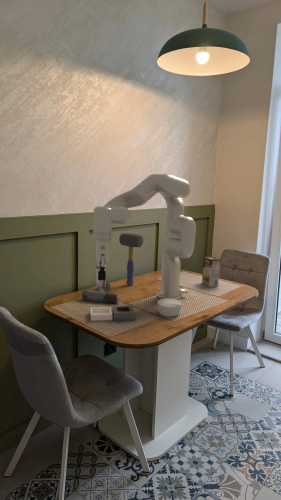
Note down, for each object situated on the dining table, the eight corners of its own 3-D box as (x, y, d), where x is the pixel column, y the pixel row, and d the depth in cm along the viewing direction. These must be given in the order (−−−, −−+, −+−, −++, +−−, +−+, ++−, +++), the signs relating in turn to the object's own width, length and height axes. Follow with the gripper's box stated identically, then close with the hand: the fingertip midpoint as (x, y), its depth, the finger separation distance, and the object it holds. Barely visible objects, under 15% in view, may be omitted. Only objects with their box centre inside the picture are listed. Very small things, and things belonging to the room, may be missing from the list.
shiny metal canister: (105, 284, 156) (106, 264, 154) (106, 287, 152) (106, 266, 150) (96, 284, 155) (96, 264, 153) (96, 287, 151) (96, 266, 149)
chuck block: (131, 312, 162) (131, 305, 161) (134, 320, 153) (134, 312, 153) (111, 313, 160) (111, 306, 160) (113, 320, 152) (113, 313, 151)
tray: (110, 312, 161) (110, 306, 161) (112, 320, 153) (112, 314, 152) (90, 312, 160) (90, 307, 159) (91, 320, 151) (91, 314, 151)
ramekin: (163, 319, 156) (164, 307, 155) (152, 310, 166) (153, 299, 165) (185, 316, 161) (186, 304, 160) (173, 307, 171) (174, 297, 170)
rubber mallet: (142, 286, 204) (144, 233, 198) (135, 289, 198) (137, 235, 192) (124, 282, 210) (125, 231, 205) (117, 285, 204) (118, 232, 198)
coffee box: (201, 282, 215) (203, 256, 212) (210, 282, 217) (212, 256, 214) (209, 287, 207) (211, 260, 204) (219, 286, 209) (221, 259, 206)
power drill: (129, 293, 190) (118, 306, 171) (96, 290, 195) (81, 301, 175) (129, 284, 189) (118, 295, 170) (96, 280, 194) (81, 291, 174)
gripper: (113, 239, 142) (111, 284, 145) (109, 233, 158) (108, 273, 162) (94, 239, 141) (93, 284, 144) (92, 233, 157) (91, 273, 160)
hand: (101, 278), depth 153 cm, fingers closed on shiny metal canister, 4 cm apart
